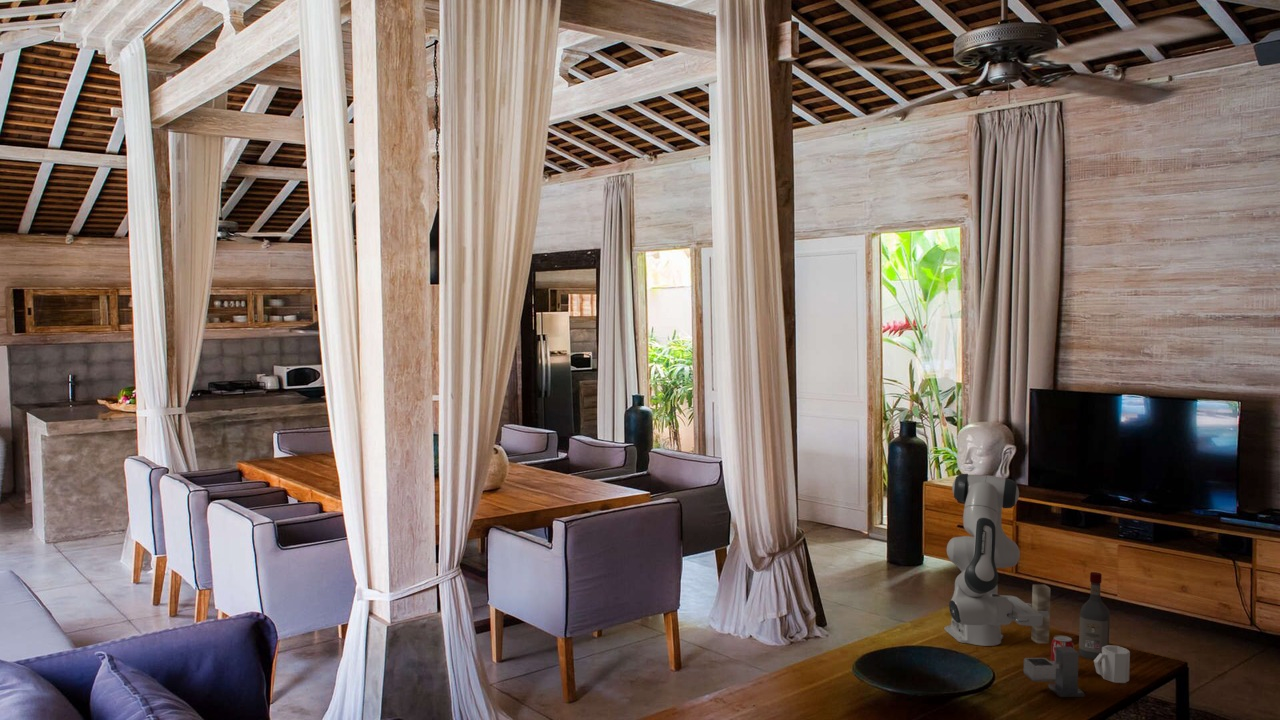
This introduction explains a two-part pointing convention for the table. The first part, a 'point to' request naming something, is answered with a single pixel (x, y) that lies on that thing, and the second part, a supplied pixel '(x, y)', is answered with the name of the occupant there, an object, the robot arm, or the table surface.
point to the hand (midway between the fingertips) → (1043, 610)
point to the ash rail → (1040, 603)
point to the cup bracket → (1056, 672)
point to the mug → (1113, 664)
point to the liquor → (1093, 622)
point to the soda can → (1060, 644)
